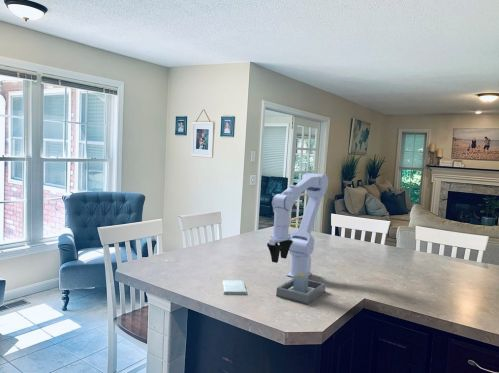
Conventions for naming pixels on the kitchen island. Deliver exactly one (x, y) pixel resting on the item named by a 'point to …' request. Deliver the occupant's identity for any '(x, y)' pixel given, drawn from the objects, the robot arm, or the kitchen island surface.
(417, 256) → the kitchen island surface
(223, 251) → the kitchen island surface
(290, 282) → the dock
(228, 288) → the hard drive
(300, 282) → the plug
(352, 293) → the kitchen island surface
